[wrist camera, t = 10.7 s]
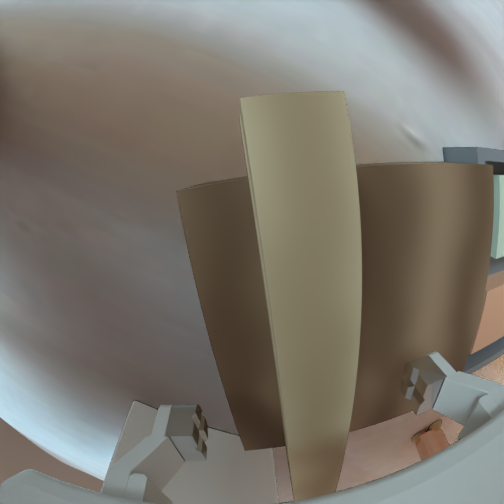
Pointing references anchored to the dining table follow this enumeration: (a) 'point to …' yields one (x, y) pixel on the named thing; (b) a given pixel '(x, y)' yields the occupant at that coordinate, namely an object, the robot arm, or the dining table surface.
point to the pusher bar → (308, 270)
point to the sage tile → (498, 217)
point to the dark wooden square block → (373, 284)
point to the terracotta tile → (490, 314)
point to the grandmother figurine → (430, 440)
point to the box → (500, 161)
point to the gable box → (208, 466)
